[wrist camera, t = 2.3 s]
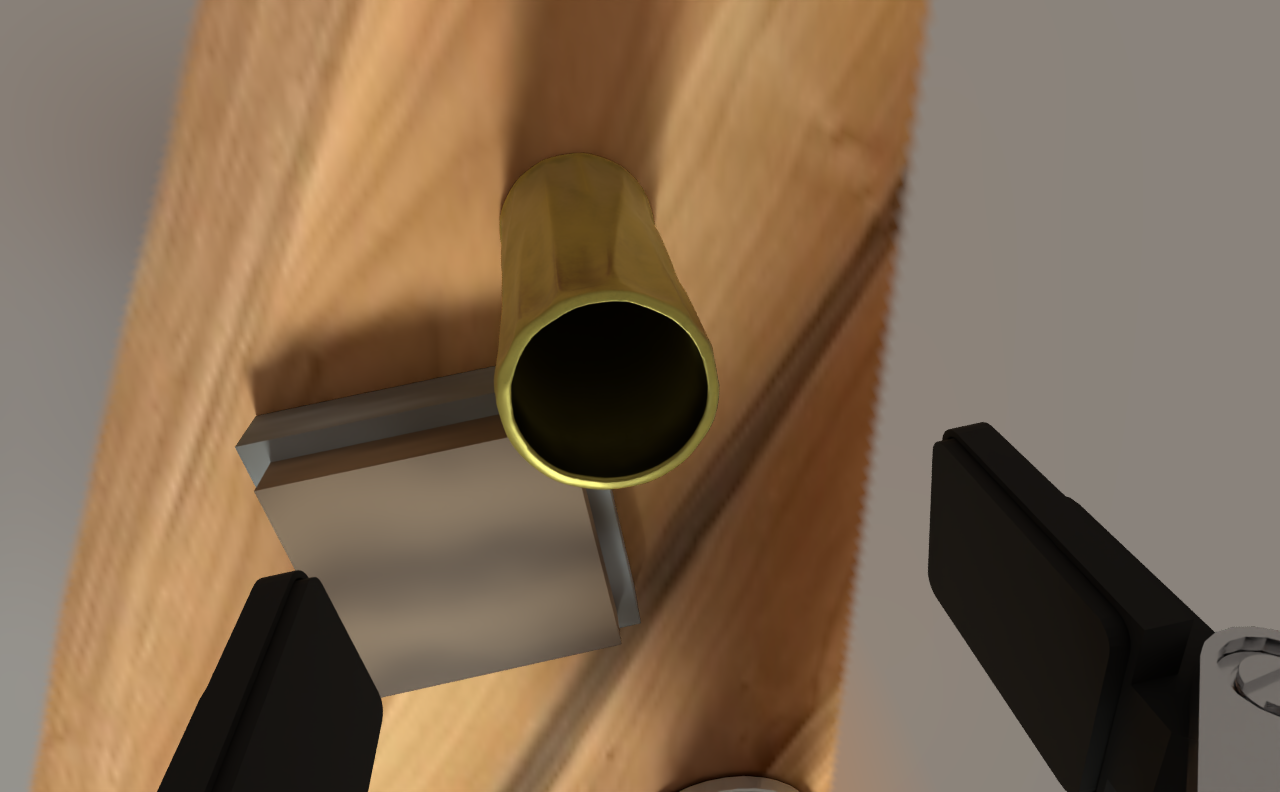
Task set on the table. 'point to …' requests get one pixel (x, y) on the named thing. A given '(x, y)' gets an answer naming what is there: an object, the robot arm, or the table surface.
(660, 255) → the vase
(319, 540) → the stand
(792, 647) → the table surface
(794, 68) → the table surface
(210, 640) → the table surface
